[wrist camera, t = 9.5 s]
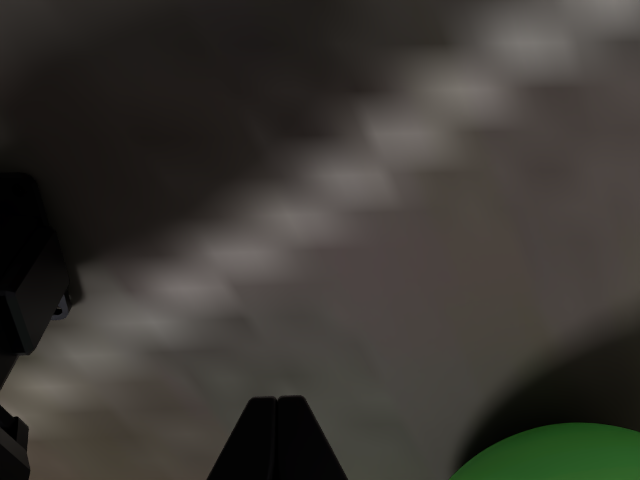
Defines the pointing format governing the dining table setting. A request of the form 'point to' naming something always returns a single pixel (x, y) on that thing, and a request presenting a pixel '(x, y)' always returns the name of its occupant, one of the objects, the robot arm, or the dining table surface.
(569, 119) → the dining table surface
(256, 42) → the dining table surface
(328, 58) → the dining table surface
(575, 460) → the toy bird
